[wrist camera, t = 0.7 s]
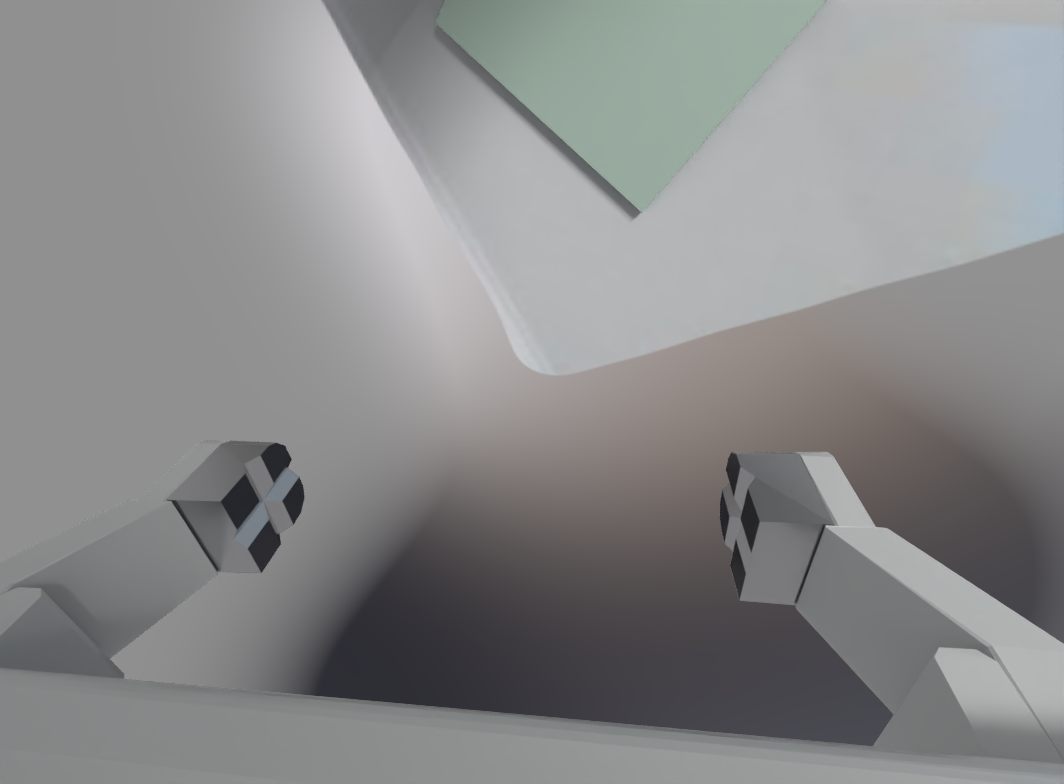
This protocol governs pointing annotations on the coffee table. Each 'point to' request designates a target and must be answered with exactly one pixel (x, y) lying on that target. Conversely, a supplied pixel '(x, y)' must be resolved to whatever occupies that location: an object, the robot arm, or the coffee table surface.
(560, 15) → the mat
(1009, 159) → the coffee table surface
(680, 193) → the coffee table surface
